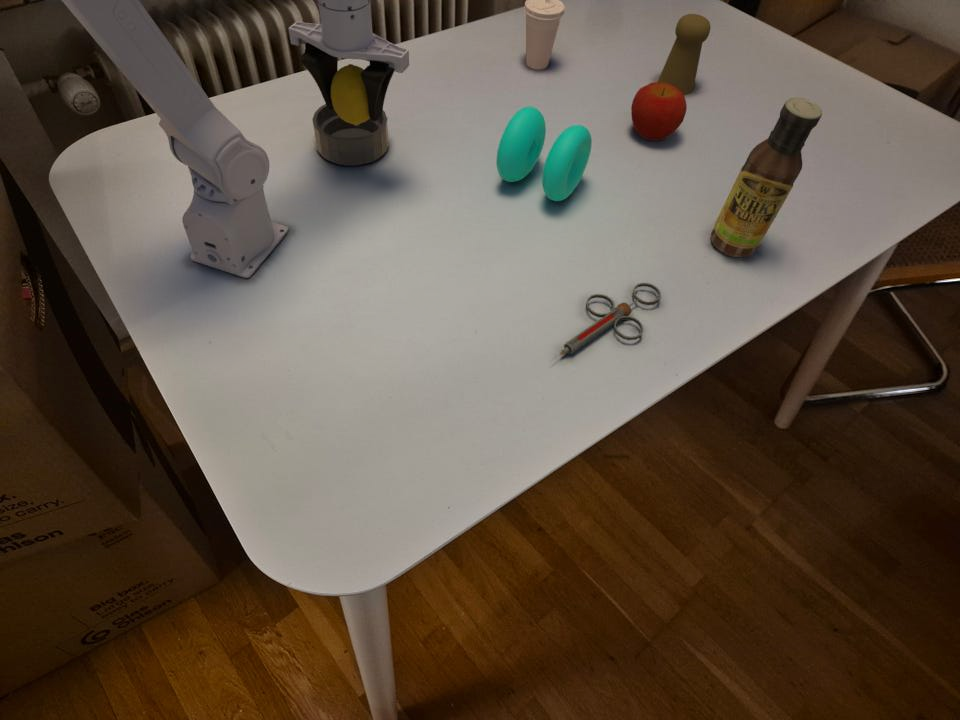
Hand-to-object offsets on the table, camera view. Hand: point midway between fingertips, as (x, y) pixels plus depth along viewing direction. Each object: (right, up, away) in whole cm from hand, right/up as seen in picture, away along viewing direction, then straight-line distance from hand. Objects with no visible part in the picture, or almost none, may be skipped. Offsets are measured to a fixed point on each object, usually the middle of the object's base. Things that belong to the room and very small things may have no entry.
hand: (355, 110), depth 84 cm
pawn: (+48, +14, +27) cm, 57 cm away
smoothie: (+25, +18, +28) cm, 42 cm away
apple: (+42, +3, +17) cm, 45 cm away
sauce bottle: (+49, -16, +3) cm, 52 cm away
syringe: (+30, -28, -7) cm, 42 cm away
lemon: (0, -1, +2) cm, 2 cm away
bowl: (-2, -1, +11) cm, 11 cm away
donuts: (+24, -7, +8) cm, 26 cm away
